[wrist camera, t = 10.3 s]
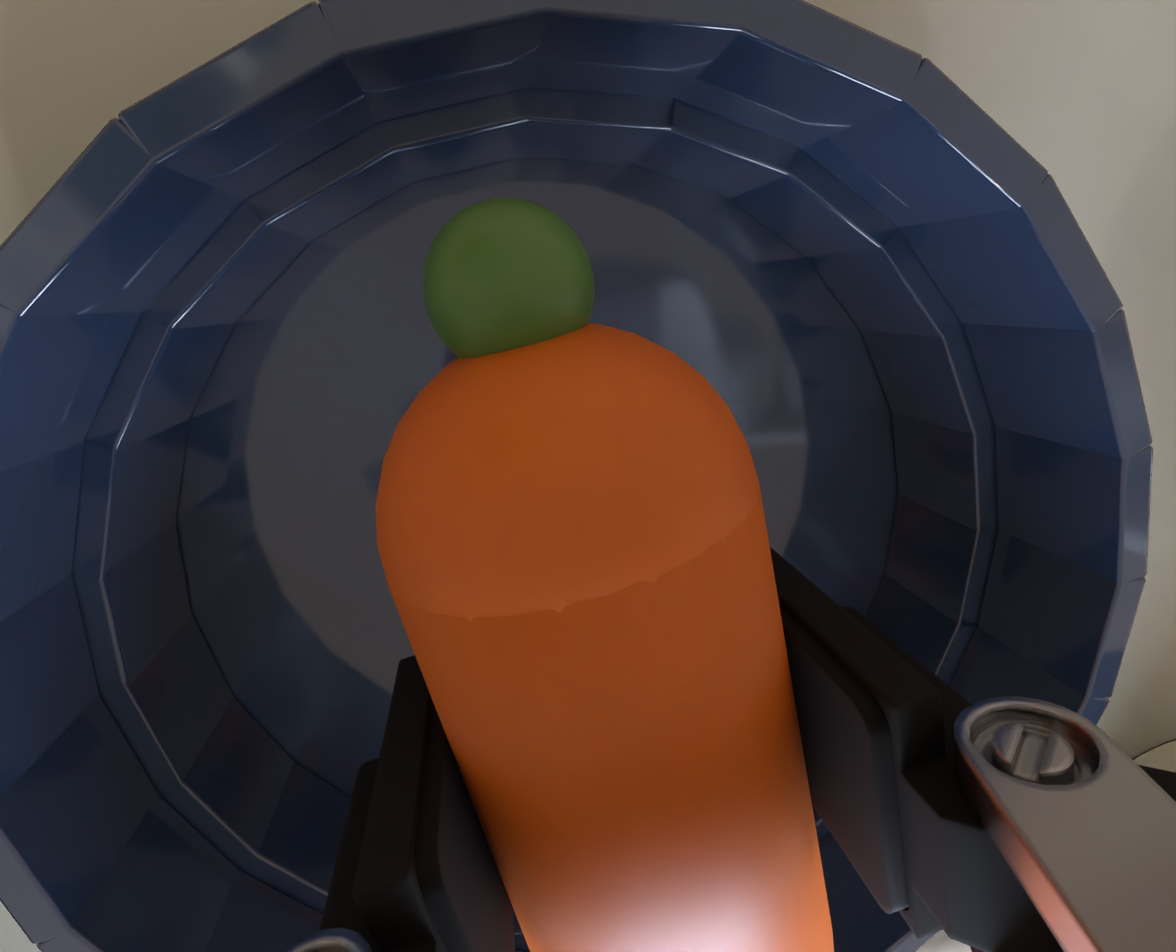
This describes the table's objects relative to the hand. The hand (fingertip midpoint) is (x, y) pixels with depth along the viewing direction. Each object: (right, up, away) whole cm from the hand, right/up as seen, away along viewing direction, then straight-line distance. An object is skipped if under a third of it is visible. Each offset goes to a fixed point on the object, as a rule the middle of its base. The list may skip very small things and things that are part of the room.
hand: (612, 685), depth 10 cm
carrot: (0, 0, -1) cm, 1 cm away
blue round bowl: (-1, +2, +6) cm, 6 cm away
